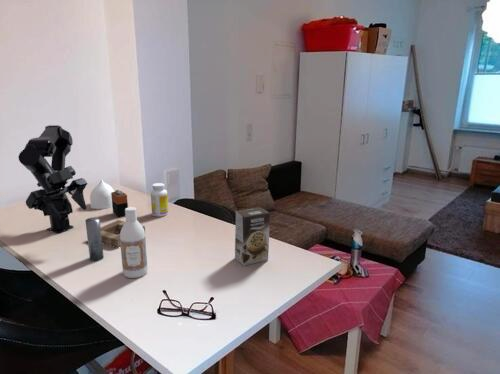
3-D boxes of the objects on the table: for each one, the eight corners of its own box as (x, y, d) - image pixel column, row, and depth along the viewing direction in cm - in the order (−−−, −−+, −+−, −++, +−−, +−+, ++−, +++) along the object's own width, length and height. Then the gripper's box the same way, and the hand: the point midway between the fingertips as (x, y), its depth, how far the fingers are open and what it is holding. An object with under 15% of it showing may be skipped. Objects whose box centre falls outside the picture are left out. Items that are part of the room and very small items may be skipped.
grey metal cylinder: (87, 259, 118) (82, 220, 114) (97, 254, 121) (93, 216, 117) (96, 262, 116) (91, 223, 112) (106, 257, 119) (102, 218, 116)
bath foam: (122, 280, 106) (115, 213, 101) (124, 268, 113) (118, 205, 107) (147, 277, 108) (142, 212, 102) (148, 266, 114) (143, 203, 109)
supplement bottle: (170, 211, 159) (169, 182, 155) (165, 217, 153) (164, 187, 149) (155, 211, 160) (153, 181, 156) (149, 216, 153) (147, 186, 150)
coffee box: (243, 266, 115) (244, 217, 110) (234, 257, 120) (234, 210, 116) (269, 260, 119) (270, 212, 114) (259, 252, 124) (260, 206, 120)
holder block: (90, 240, 131) (89, 232, 130) (118, 227, 142) (118, 219, 141) (118, 248, 126) (117, 239, 125) (145, 234, 137) (144, 226, 136)
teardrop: (98, 200, 172) (96, 174, 169) (121, 201, 171) (119, 176, 167) (85, 208, 162) (82, 181, 158) (109, 210, 160) (106, 183, 157)
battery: (118, 217, 152) (116, 194, 149) (112, 213, 157) (110, 190, 154) (129, 215, 154) (127, 192, 151) (122, 210, 159) (121, 188, 156)
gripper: (25, 165, 108) (56, 208, 106) (80, 154, 124) (107, 191, 122) (13, 188, 113) (42, 228, 112) (67, 174, 129) (93, 209, 128)
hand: (73, 213), depth 118 cm, fingers open, 9 cm apart
